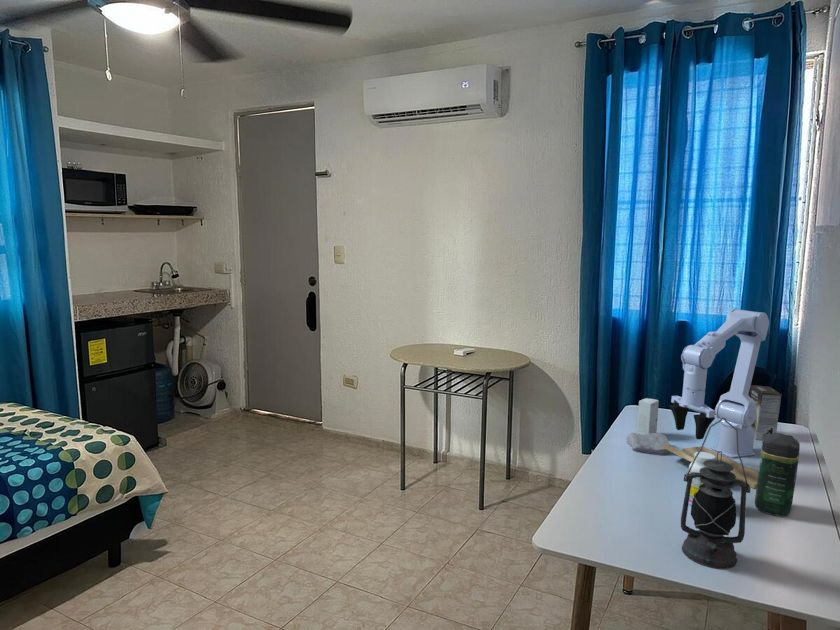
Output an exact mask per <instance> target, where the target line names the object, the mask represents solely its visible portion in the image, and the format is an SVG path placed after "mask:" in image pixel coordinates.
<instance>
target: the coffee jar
mask: <svg viewBox="0 0 840 630" xmlns="http://www.w3.org/2000/svg"><path fill="white" fill-rule="evenodd" d="M799 458H800V442H799V441H798V440H797V439H795V437H794V436H793V435H789V434H784V433H781V432H776V433H773V434H769V435H767V436H766V437H765V438H764V439H763V440H762V445H761V452H760V458H759V459H760V460H759V465H758V467H759V468H758V472H759V474H758V482H757V488H755V490H756V491H755V497H754V498H755V499H754V506H755V508H756V509H758V510H760V511H761V512H764V513H766V514H768V515H771V516H780V517H781V516H783V517H787V516H789V515H790V513H791V511H792V507H793V501H794V493H795V488H796V487H795V486H796V482H797V481H796V480H797V474H798V468H799Z"/></svg>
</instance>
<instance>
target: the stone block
mask: <svg viewBox="0 0 840 630" xmlns="http://www.w3.org/2000/svg"><path fill="white" fill-rule="evenodd" d="M626 444H627V445H628V446H629V445H630V446H629V447H631V450H632V451H635V452H641V453H646V452H647V454H654V455H660V456H662V455H663V456H664V455H665V456H666V455H670V454H671V453H672V452H670V451H668V450H667V449H665V448H663V446H664V444H666V445H669V446H671V443H670V442H669V439H668V438H667V436H666V435H665V434H663V433H660V432H659V433H658V432H657V433H648V434H645V435H641V434H637V432H636V433H635V432H630V433H628V435H627V437H626Z"/></svg>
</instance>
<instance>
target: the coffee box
mask: <svg viewBox="0 0 840 630" xmlns="http://www.w3.org/2000/svg"><path fill="white" fill-rule="evenodd" d="M748 395H749V397H750V398H751V399H752V400H753V401H754V402H755V404H756V409H755V413H756V417H755V421H754V423H753V424H752V425H751V427H752V428H753V430H754V440H756V441H757V440H758V441H760V440H761V441H763V439H764V438H765V437H766V436H767V435H769V434H773V433H777V429H778V422H779V415H780V407H781V399H782V393H780V392H778V391H777V390H776V389H774V388H773V387H771V386H763V385H757V384H756V385H755V384H754V385H753V384H751V386H750V390H749V394H748Z"/></svg>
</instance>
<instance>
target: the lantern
mask: <svg viewBox="0 0 840 630" xmlns="http://www.w3.org/2000/svg"><path fill="white" fill-rule="evenodd" d="M722 419H724V420H725V422H726V423H728V424H729V425H730V426H731V427H733V428H734V429H735V430H736V437H737V453H738V456H739V457H738V459H739V461H740V464H742V469H743V473H744V477H745V481H746V484H745V483H744V482H743V481H741V480H737V479H736V476H735V474H733V473H732V472H730V471H733V469H734V468H733V466H732V465H730V464H728V463H726V462H724V461H721V460H722V455H723V454H722V451H716V452H717V460H707V461H704V463H703V464H704V466H706V467H703V468H701V469H700V470H699V472H700V473H697V472H692V473H690V474H689V472H690V470H691V468H692V466H693V464H694V462H695V460H696V458H697V456H698V455H699V453H700V452H701V450H702V448H703V446H704V447H705V443H706V441H707V439H708V438H707V437H708V435H709V434H710V431H711V429H712V427H714V426H716V425H717V424H719V423H720V422H721V420H722ZM700 446H701V449H700V450H699V452H698V453H697V455H696V456H695V458H694V460H693V463H692V462H691V463H692V465H691V467H690V469H689V468H688V471H687V472H686V474H684V476H683V481H684V482H686V485H685V491H684V497H683V498H684V499H683V504H682V509H681V515H680V516H681V517H680V528H681V531H683V532H685V533H687V537H686V538H685V539H684V540H683V542H682V546H681V552H682V553H683V555H684V556H685V557H687V559H689V560H690V561H693V562H694V563H696V564H699V565H701V566H704V567H708V568H710V569H711V568H712V569H719V570H726V569H731V568H734V567H735V566H736V565H738V558H737V556H738V555H737V551H735V545H734V544H739V543H740V544H741V543H742V542H743V541H744V539H745V538H744V537H745V534H746V532H745V529H746V510H747V509H746V507H747V493H748V494H751V488H752V487H750V485H749V484H748V483H747V479H746V474H745V470H744V466H745V465H744V463H743V461H742V458H741V457H742V456H741V457H740V454H739V448H738V430H737V429H736V428H735V427H734V426H732V425H731V424H730V423H729V422H727V421H726V419H725V418H721V419H720V420H719V419H718V421H716V422H714V423H713V424H712V423H711V424H710V425H709V427H708V429H707V431H706V433H705V436H704V438H703V441H702V445H700ZM720 452H721V453H720ZM718 453H720V454H721V460H720V461H719V460H718ZM743 465H744V466H743ZM696 477H700V481H701V482H702V483H703V484H701V485H700V486H699V488H700V489H699V490H698V492H697V493H694V498H693V502H692V506H691V505H690V504H689V497H690V490H691V484H692V479H693V478H696ZM735 485H737V486H739V487H740V492H741V493H740V507H739V508H740V509H739V525H738V534H737V536H729V535H730V533H731V530H732V529H733V528H734V527H735V526H736V522H737V504H736V499H735V498H733V494H734V493H733V490H732V489H733V488H734V486H735ZM695 494H696V495H695ZM689 505H690V506H691V509H690V516H691V518H692V520H693V525H694V527H695V529H696V530H695V529H693V528H691V527H689V526H687V524H686V523H687V516H688V508H689Z"/></svg>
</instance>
